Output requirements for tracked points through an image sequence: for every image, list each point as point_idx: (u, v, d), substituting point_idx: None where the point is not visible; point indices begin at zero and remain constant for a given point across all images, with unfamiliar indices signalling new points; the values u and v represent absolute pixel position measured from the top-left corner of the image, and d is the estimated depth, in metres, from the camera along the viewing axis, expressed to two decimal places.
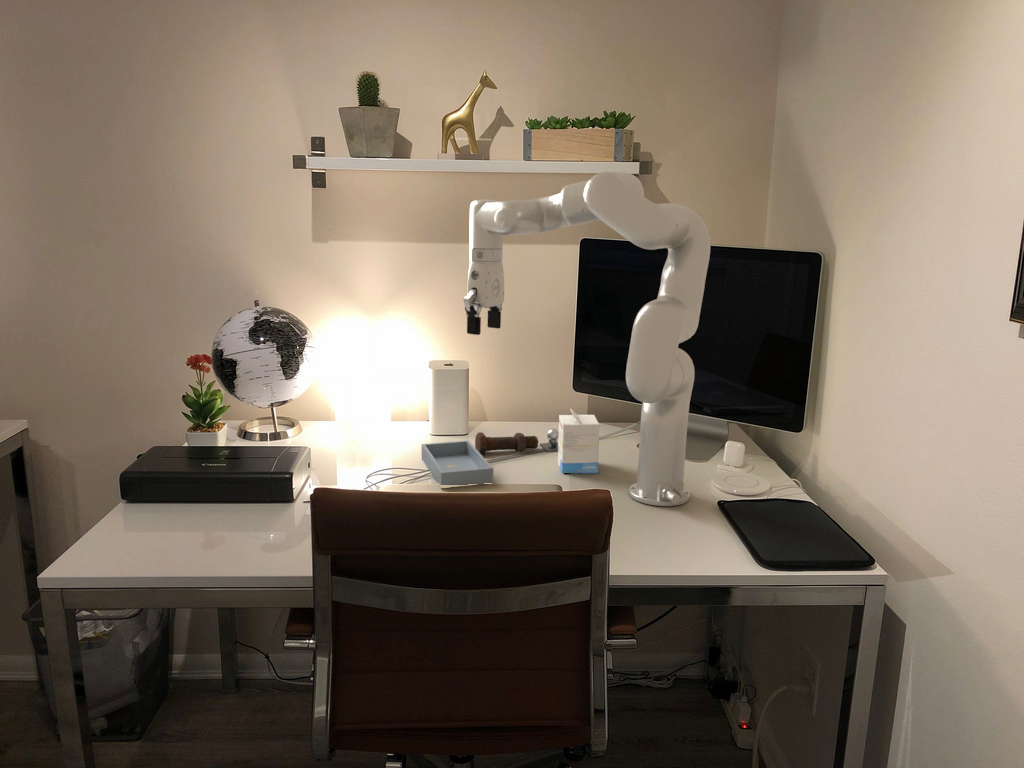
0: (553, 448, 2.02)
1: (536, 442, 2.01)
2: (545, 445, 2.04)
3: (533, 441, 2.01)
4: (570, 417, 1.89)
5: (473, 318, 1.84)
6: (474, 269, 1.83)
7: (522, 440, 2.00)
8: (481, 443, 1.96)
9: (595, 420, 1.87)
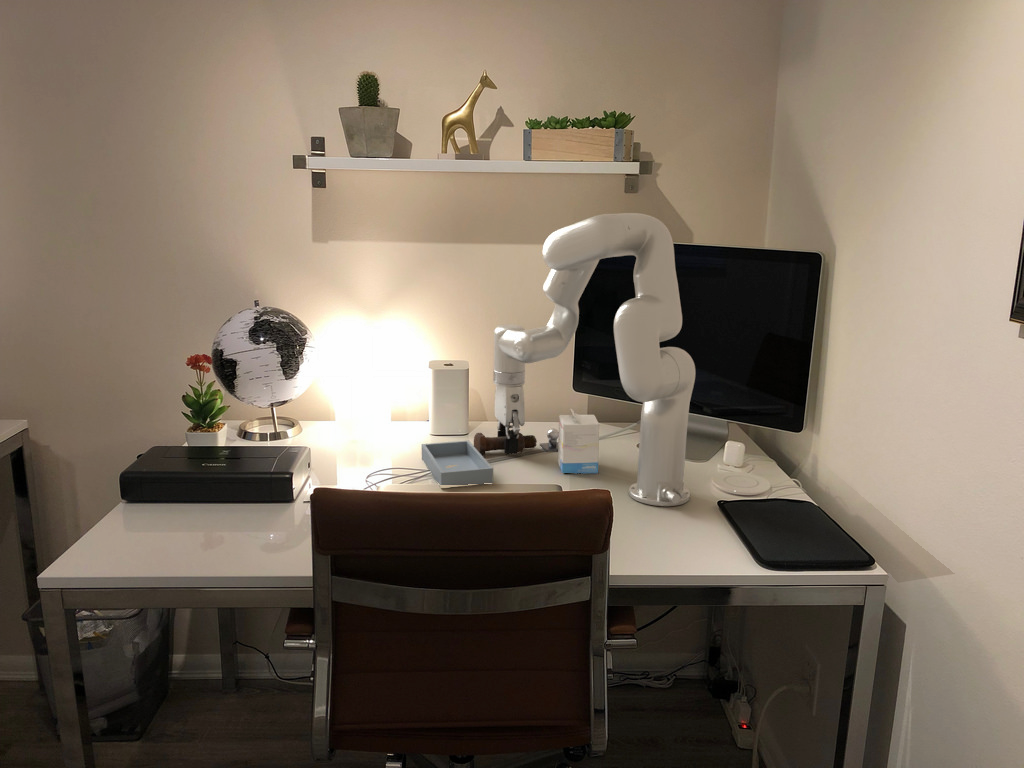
0: (553, 448, 2.02)
1: (534, 441, 2.01)
2: (545, 445, 2.04)
3: (531, 440, 2.01)
4: (570, 417, 1.89)
5: (513, 440, 1.96)
6: (513, 392, 1.93)
7: (521, 439, 2.00)
8: (481, 444, 1.96)
9: (596, 420, 1.87)
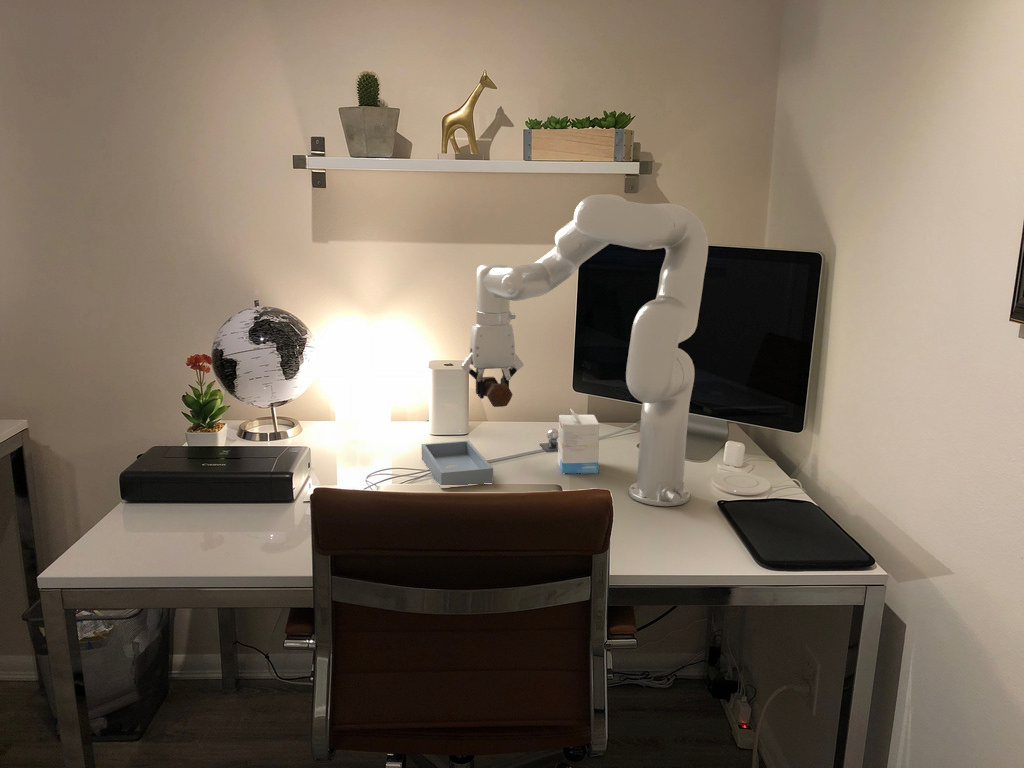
0: (553, 448, 2.02)
1: None
2: (545, 445, 2.04)
3: None
4: (570, 417, 1.89)
5: None
6: None
7: None
8: (510, 391, 1.86)
9: (595, 420, 1.87)
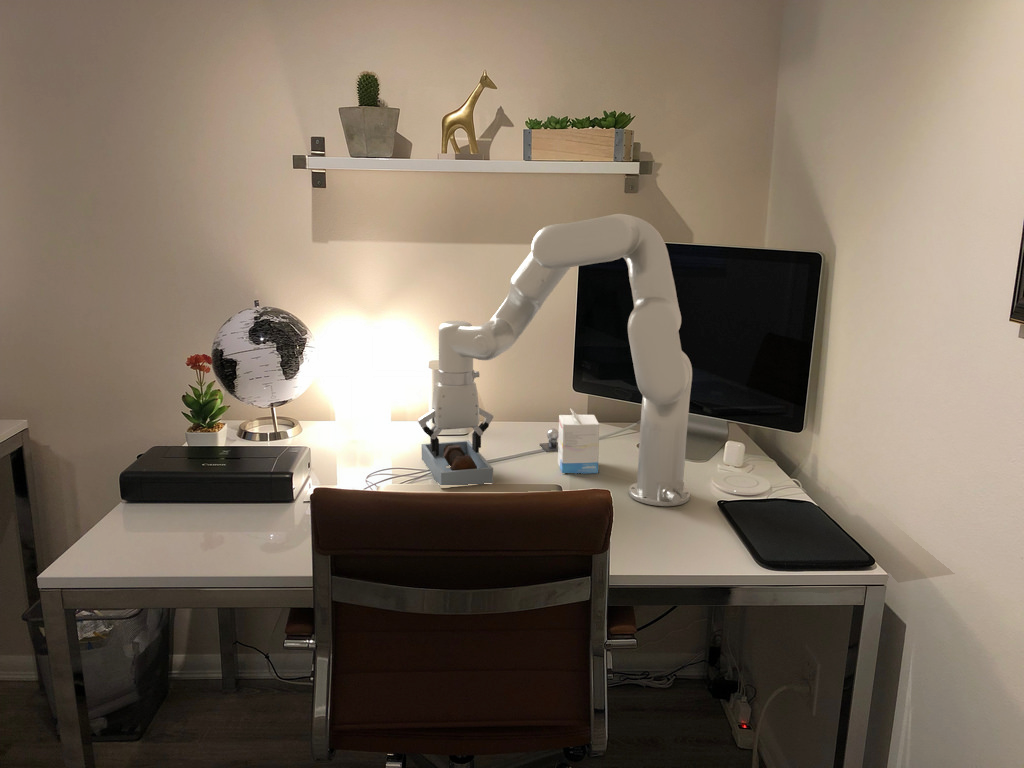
0: (553, 448, 2.02)
1: None
2: (545, 445, 2.04)
3: None
4: (570, 417, 1.89)
5: None
6: None
7: None
8: None
9: (595, 420, 1.87)
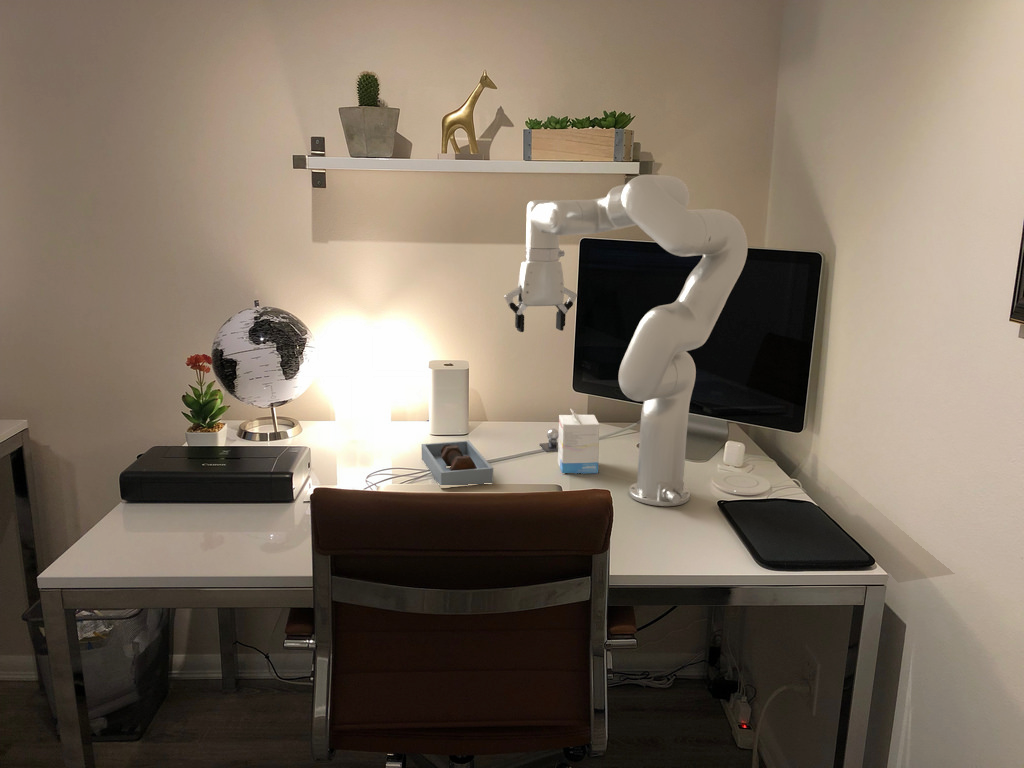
0: (553, 448, 2.02)
1: None
2: (545, 445, 2.04)
3: None
4: (570, 417, 1.89)
5: None
6: None
7: None
8: (474, 464, 1.80)
9: (596, 420, 1.87)
